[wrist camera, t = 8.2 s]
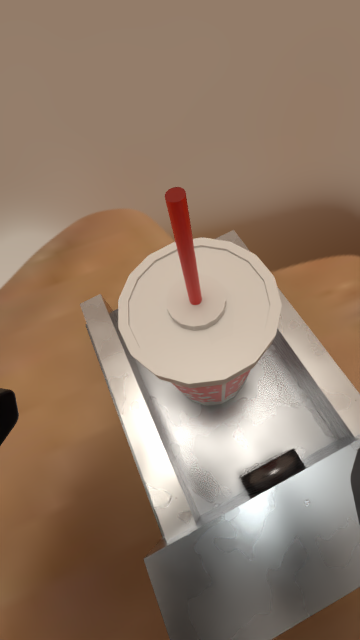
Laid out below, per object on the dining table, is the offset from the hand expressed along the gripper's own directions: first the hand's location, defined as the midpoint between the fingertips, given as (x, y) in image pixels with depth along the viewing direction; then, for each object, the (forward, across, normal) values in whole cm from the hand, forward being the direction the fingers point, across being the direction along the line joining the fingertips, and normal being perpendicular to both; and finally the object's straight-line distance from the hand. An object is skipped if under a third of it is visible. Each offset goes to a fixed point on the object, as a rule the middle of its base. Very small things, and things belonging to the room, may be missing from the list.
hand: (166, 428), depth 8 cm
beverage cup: (+11, 0, +4) cm, 12 cm away
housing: (+11, -1, +6) cm, 12 cm away
